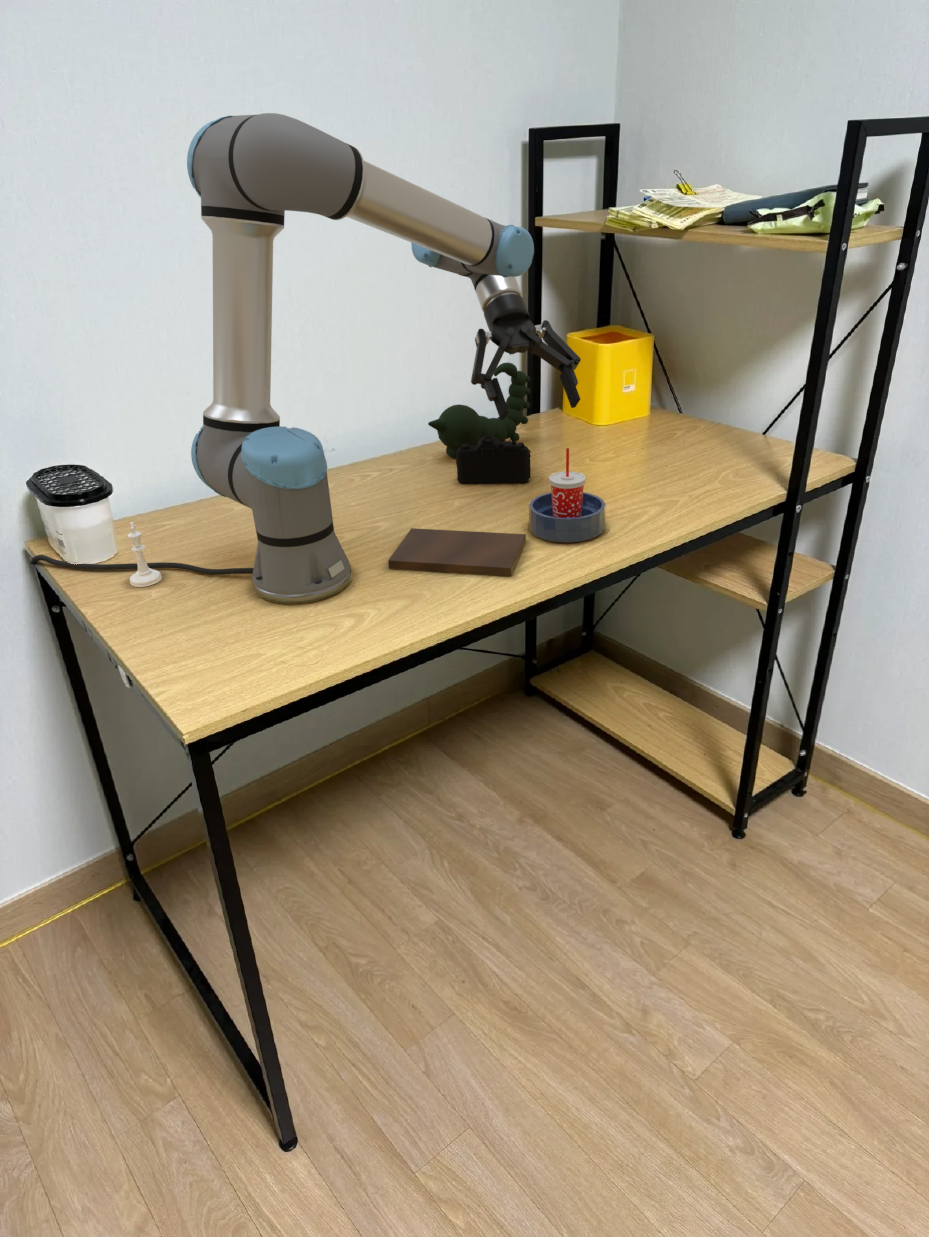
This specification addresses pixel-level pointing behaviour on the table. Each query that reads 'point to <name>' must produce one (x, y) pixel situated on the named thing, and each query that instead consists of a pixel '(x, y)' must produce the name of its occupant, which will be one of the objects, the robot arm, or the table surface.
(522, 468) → the film camera
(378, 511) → the table surface
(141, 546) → the chess piece
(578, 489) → the beverage cup
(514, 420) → the toy figurine
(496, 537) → the board
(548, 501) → the bowl
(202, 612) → the table surface
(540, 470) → the table surface
